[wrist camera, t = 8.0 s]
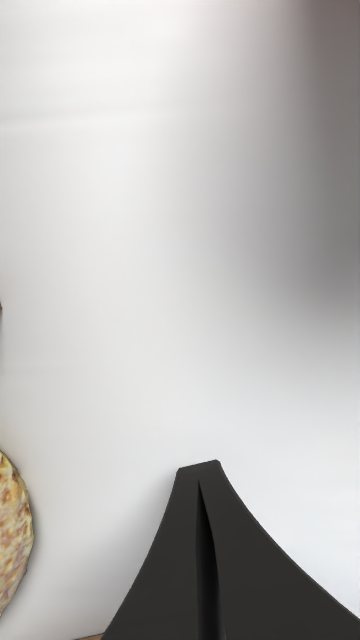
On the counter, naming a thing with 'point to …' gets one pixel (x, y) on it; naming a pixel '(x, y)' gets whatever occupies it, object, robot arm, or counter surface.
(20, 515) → the mushroom cheese tart
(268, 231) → the counter surface
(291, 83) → the counter surface
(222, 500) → the robot arm
